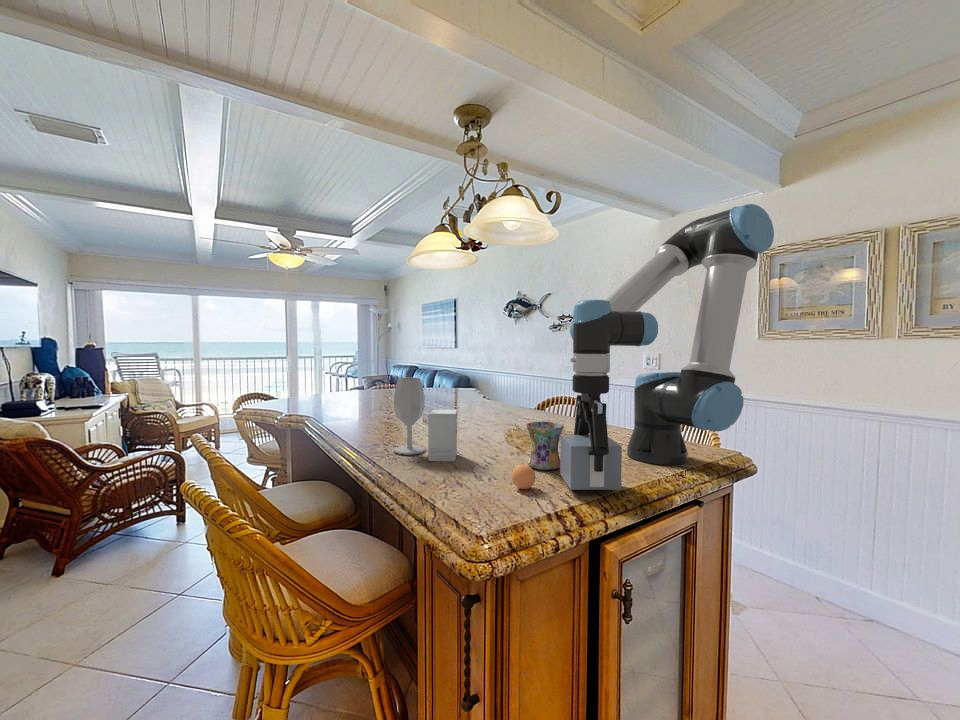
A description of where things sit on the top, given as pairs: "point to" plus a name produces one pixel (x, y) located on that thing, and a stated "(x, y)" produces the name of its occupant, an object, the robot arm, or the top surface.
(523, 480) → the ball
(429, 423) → the supplement box
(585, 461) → the gray tilted carton
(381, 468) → the top surface
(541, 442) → the mug
